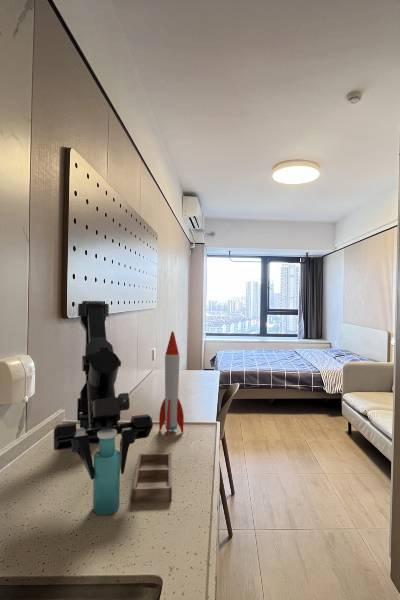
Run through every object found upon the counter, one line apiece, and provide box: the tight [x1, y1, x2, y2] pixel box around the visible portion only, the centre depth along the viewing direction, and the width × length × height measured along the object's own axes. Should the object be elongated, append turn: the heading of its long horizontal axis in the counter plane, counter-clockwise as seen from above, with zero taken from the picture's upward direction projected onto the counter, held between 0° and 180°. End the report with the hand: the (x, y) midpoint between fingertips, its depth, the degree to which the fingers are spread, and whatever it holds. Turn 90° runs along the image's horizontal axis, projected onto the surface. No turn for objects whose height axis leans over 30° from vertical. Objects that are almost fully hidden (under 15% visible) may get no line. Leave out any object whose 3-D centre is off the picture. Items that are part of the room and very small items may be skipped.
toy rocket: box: [158, 330, 185, 437], centre depth 101 cm, size 6×6×30 cm
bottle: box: [92, 429, 121, 516], centre depth 64 cm, size 5×5×14 cm
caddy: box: [131, 452, 173, 504], centre depth 74 cm, size 8×15×3 cm, turn 5°
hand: (107, 476), depth 63 cm, fingers open, 5 cm apart
